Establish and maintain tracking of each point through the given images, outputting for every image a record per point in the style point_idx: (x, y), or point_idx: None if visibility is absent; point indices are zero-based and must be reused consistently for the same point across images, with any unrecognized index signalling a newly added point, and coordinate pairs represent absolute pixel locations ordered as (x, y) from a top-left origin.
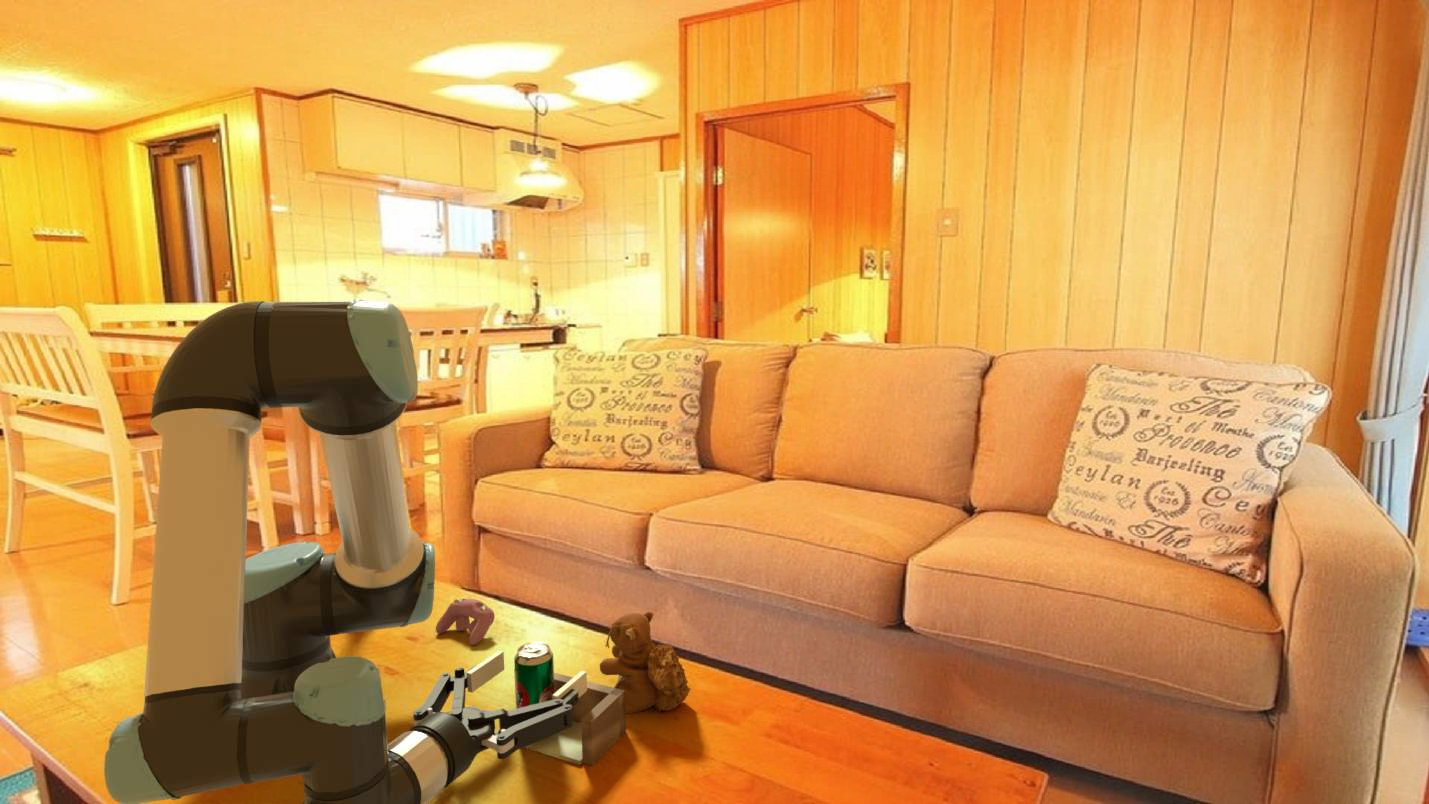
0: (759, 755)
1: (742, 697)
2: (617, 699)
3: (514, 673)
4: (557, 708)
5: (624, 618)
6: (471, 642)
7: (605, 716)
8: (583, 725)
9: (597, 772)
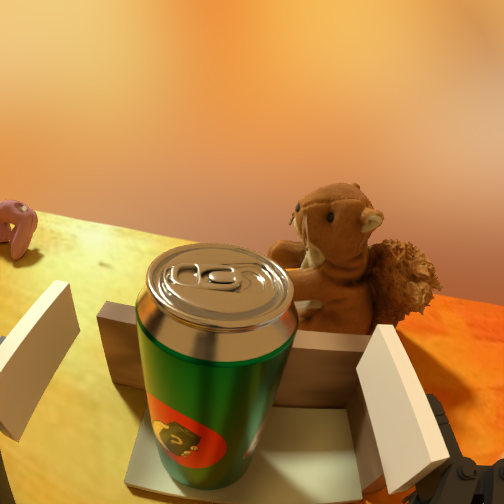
0: (497, 363)
1: None
2: None
3: (98, 325)
4: (495, 496)
5: (338, 189)
6: (13, 256)
7: None
8: None
9: (398, 498)
